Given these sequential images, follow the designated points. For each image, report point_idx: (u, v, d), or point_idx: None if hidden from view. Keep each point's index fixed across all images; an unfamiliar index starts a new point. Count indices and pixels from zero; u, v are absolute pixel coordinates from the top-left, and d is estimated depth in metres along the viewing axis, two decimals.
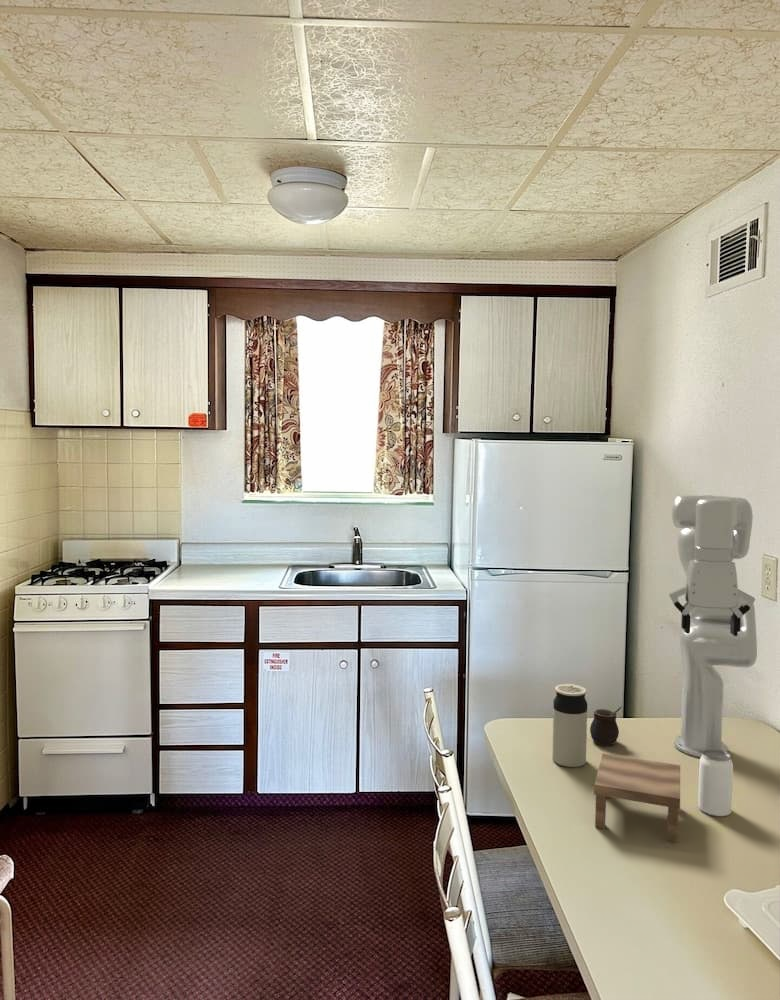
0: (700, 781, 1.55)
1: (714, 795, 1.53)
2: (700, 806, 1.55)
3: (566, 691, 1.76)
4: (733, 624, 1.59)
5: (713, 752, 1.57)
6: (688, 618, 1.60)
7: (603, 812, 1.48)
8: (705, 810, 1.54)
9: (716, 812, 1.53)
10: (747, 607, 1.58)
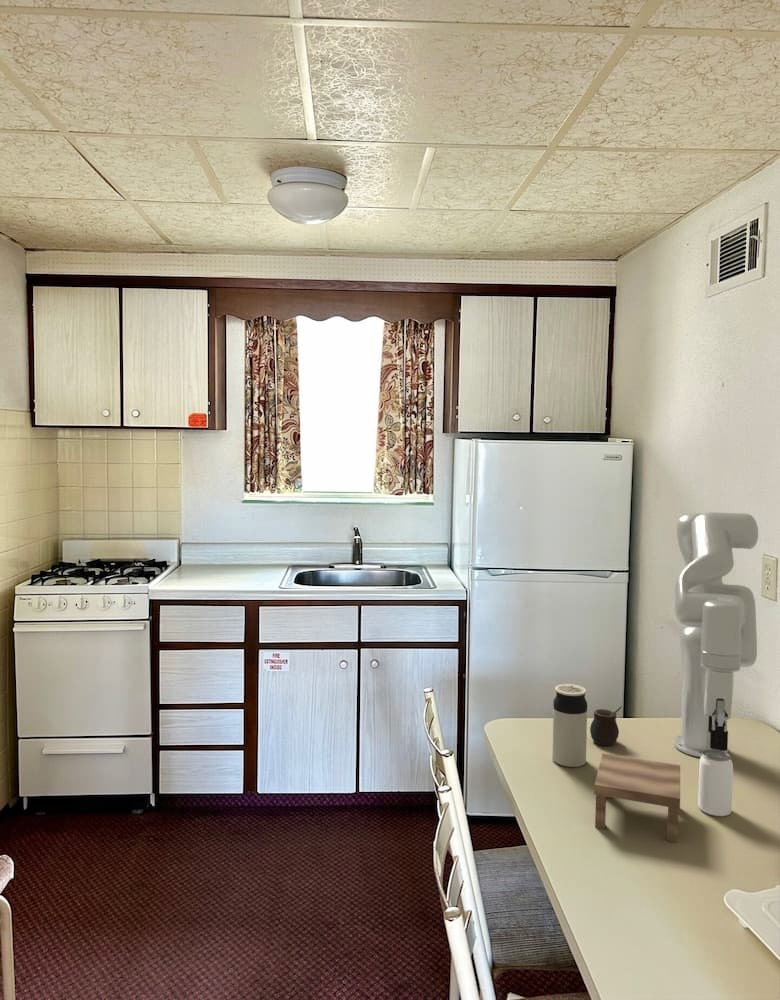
0: (700, 781, 1.55)
1: (714, 795, 1.53)
2: (700, 806, 1.55)
3: (566, 691, 1.76)
4: None
5: (713, 752, 1.57)
6: None
7: (603, 812, 1.48)
8: (705, 810, 1.54)
9: (716, 812, 1.53)
10: None
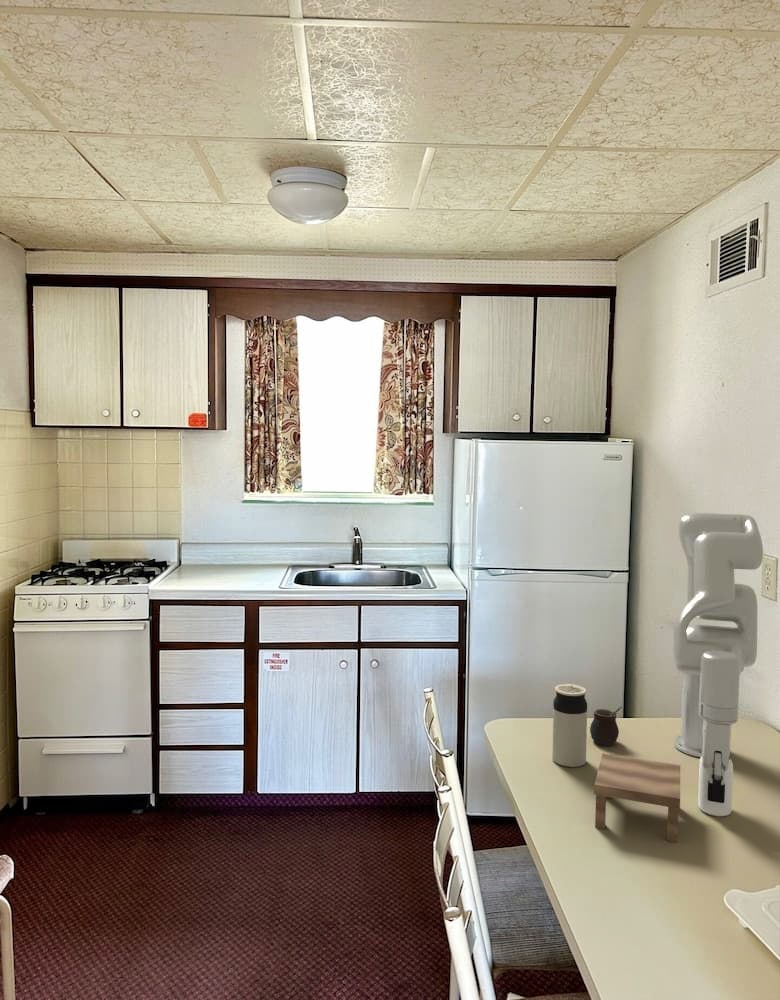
0: (700, 781, 1.55)
1: None
2: (700, 806, 1.55)
3: (566, 691, 1.76)
4: None
5: None
6: None
7: (603, 812, 1.48)
8: (705, 810, 1.54)
9: (716, 812, 1.53)
10: None
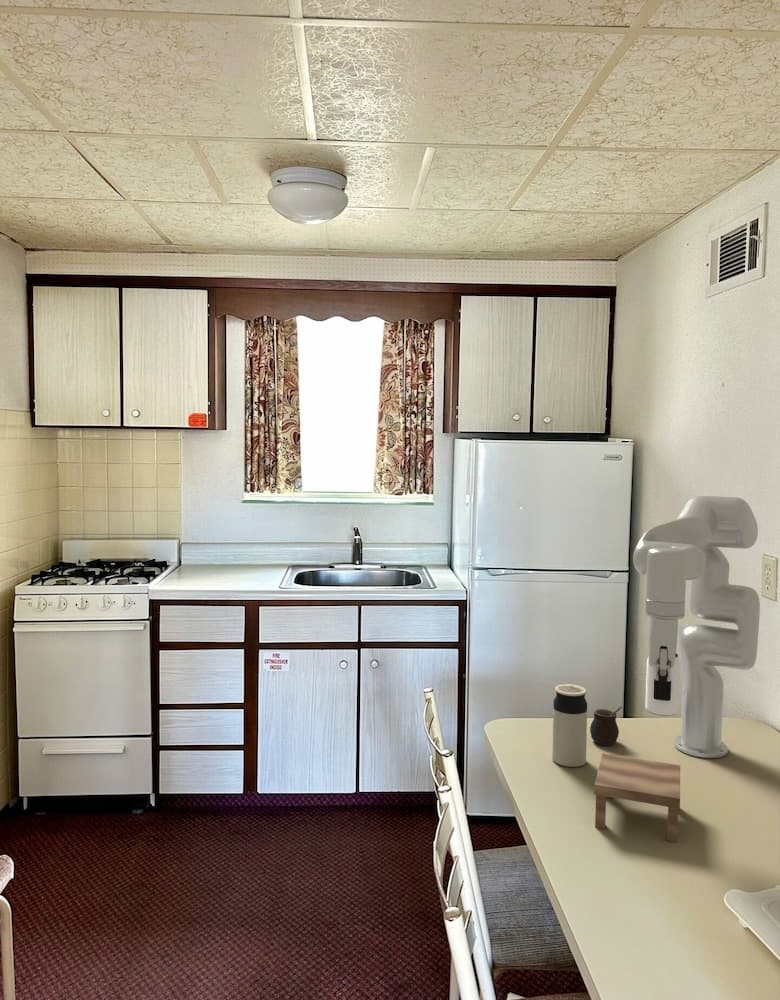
0: (647, 681, 1.51)
1: None
2: (647, 707, 1.51)
3: (566, 691, 1.76)
4: None
5: None
6: None
7: (603, 812, 1.48)
8: (652, 710, 1.50)
9: (663, 711, 1.49)
10: None
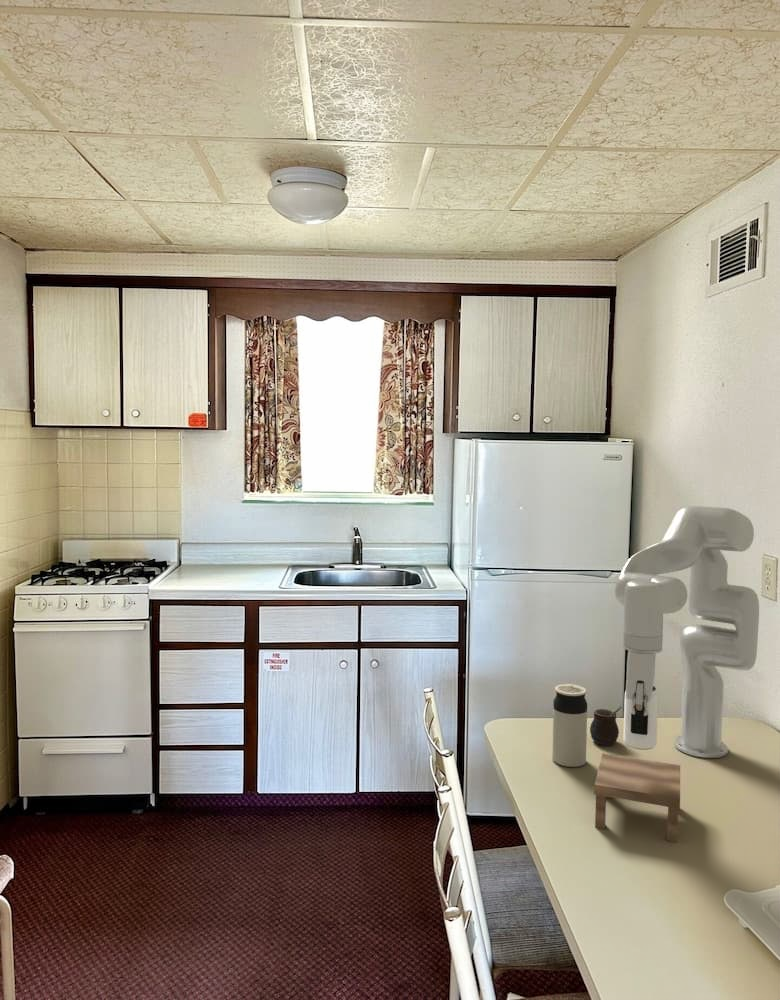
0: (625, 714, 1.51)
1: None
2: (625, 740, 1.51)
3: (566, 691, 1.76)
4: None
5: None
6: None
7: (603, 812, 1.48)
8: (629, 743, 1.50)
9: (640, 745, 1.49)
10: None
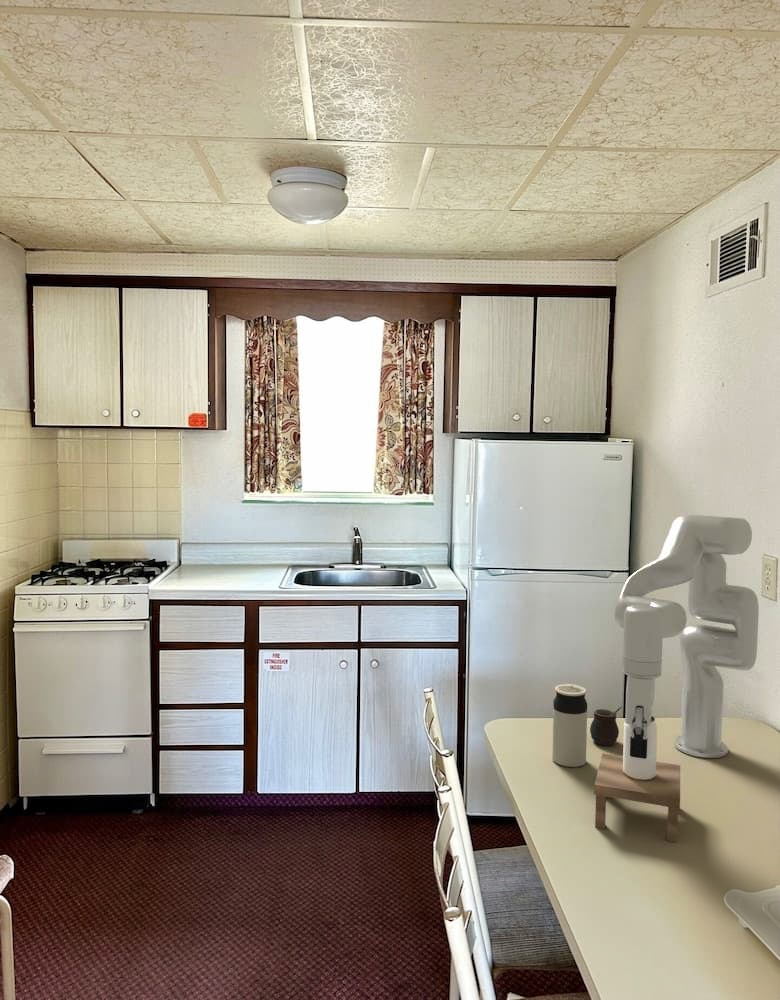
0: (624, 744, 1.52)
1: None
2: (624, 770, 1.52)
3: (566, 691, 1.76)
4: None
5: None
6: None
7: (603, 812, 1.48)
8: (629, 774, 1.51)
9: (639, 776, 1.49)
10: None
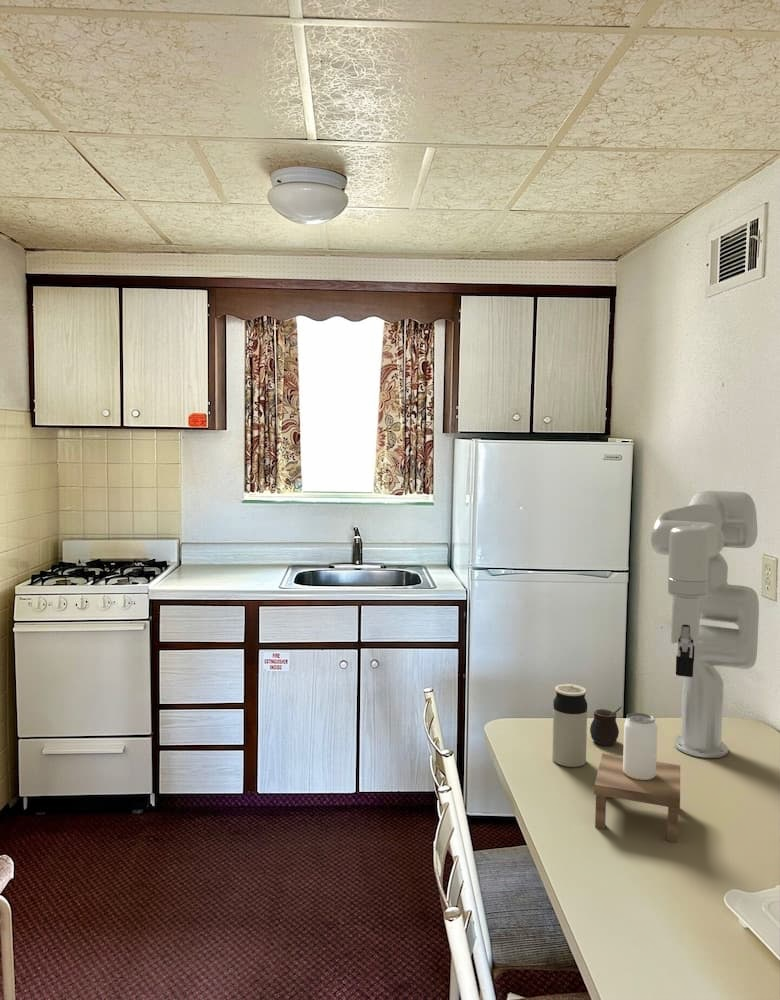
0: (624, 744, 1.52)
1: (637, 758, 1.49)
2: (624, 770, 1.52)
3: (566, 691, 1.76)
4: (690, 651, 1.56)
5: (638, 715, 1.54)
6: (693, 660, 1.47)
7: (603, 812, 1.48)
8: (629, 774, 1.51)
9: (639, 776, 1.49)
10: None
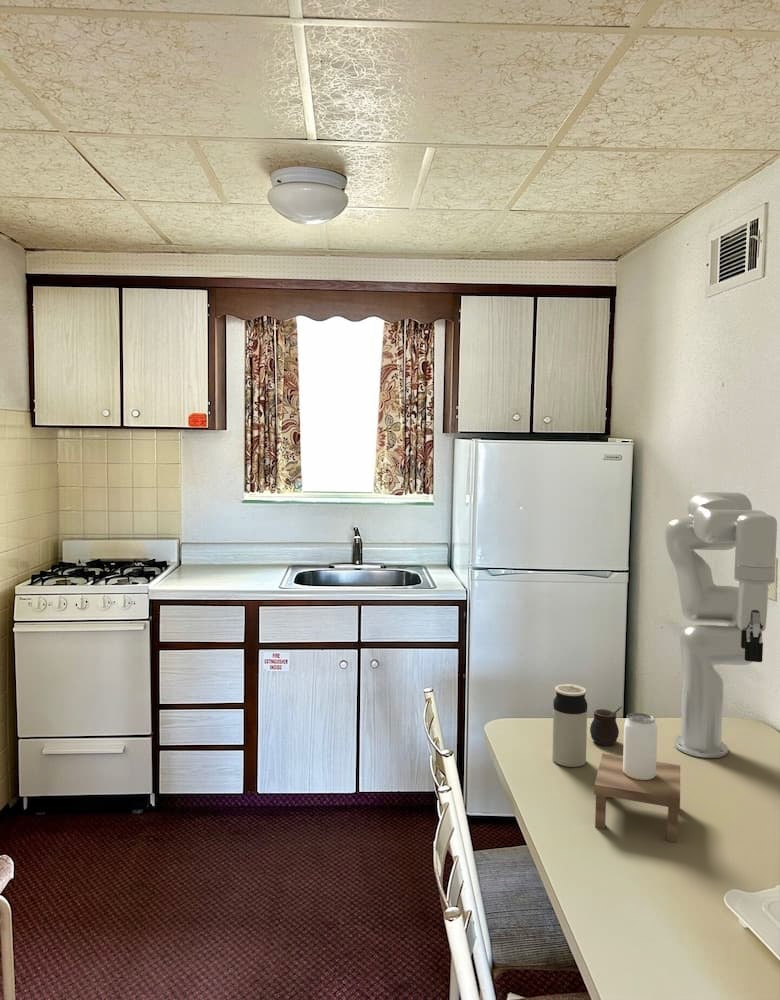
0: (624, 744, 1.52)
1: (637, 758, 1.49)
2: (624, 770, 1.52)
3: (566, 691, 1.76)
4: None
5: (638, 715, 1.53)
6: None
7: (603, 812, 1.48)
8: (629, 774, 1.51)
9: (639, 776, 1.49)
10: None
